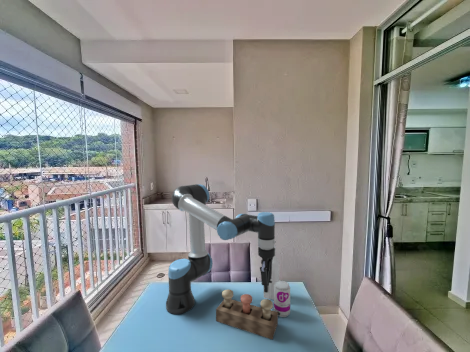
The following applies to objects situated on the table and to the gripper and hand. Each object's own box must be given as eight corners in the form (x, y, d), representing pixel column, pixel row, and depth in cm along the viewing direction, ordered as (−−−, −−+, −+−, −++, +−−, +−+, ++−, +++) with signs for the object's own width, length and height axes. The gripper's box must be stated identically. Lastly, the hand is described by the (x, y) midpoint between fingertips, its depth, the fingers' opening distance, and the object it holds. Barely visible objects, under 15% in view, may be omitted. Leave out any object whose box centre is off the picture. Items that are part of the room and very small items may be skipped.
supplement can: (290, 319, 107) (290, 289, 106) (273, 316, 109) (273, 287, 108) (289, 308, 115) (289, 280, 114) (274, 306, 117) (273, 279, 116)
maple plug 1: (220, 308, 107) (220, 294, 107) (225, 301, 113) (225, 288, 112) (230, 311, 105) (230, 297, 105) (235, 304, 110) (235, 290, 110)
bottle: (280, 293, 129) (280, 243, 127) (278, 301, 121) (278, 248, 119) (267, 290, 131) (266, 241, 130) (264, 298, 124) (264, 246, 122)
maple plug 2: (259, 319, 99) (258, 304, 99) (262, 312, 104) (262, 297, 104) (271, 323, 97) (271, 308, 96) (274, 315, 102) (274, 300, 102)
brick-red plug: (238, 313, 103) (238, 299, 103) (243, 306, 108) (243, 293, 108) (249, 317, 101) (249, 302, 101) (254, 309, 106) (253, 295, 106)
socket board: (216, 321, 106) (215, 309, 106) (225, 308, 115) (225, 297, 115) (272, 339, 95) (272, 326, 94) (277, 324, 104) (277, 312, 103)
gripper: (270, 253, 91) (271, 308, 92) (278, 243, 103) (278, 291, 104) (253, 250, 94) (254, 303, 96) (262, 241, 106) (263, 288, 107)
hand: (266, 297), depth 100 cm, fingers closed
